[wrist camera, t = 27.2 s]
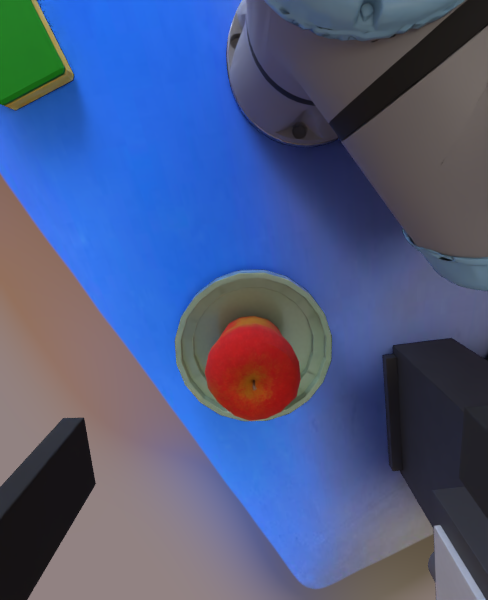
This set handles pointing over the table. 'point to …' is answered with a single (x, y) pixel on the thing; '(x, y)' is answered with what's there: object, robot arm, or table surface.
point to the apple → (252, 369)
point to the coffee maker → (439, 454)
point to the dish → (261, 303)
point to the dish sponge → (28, 55)
